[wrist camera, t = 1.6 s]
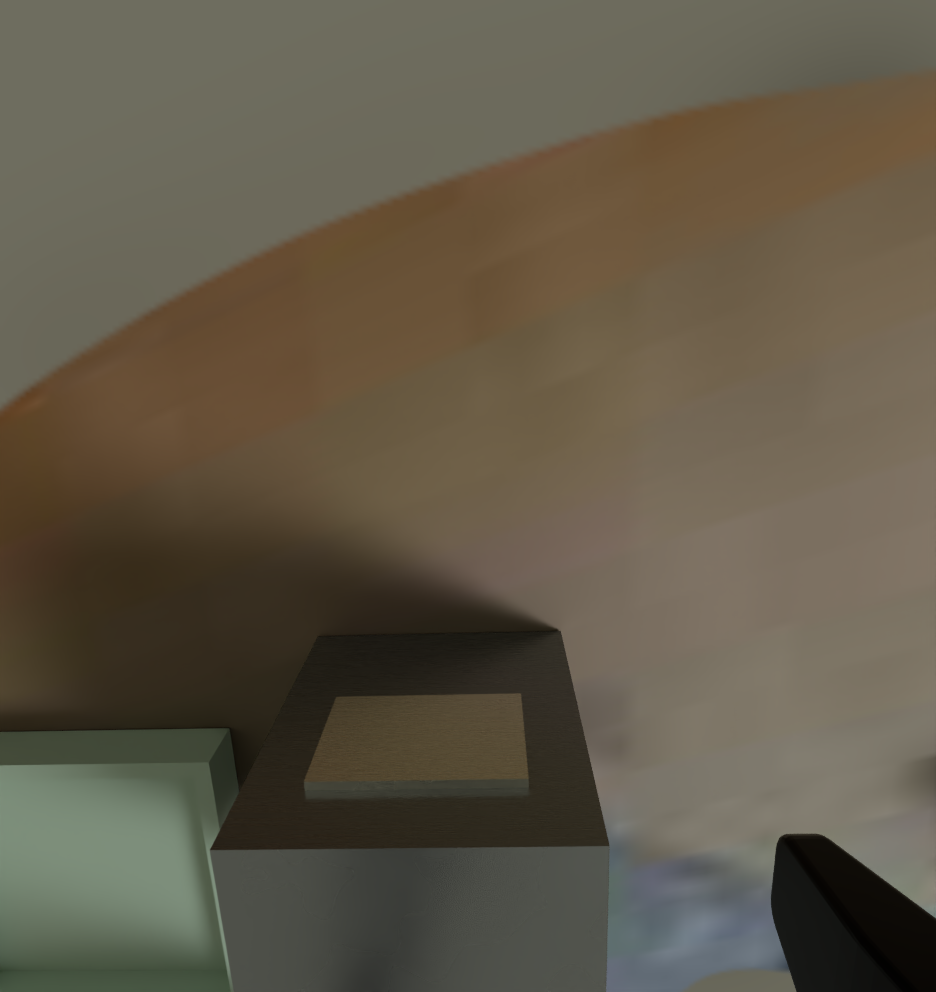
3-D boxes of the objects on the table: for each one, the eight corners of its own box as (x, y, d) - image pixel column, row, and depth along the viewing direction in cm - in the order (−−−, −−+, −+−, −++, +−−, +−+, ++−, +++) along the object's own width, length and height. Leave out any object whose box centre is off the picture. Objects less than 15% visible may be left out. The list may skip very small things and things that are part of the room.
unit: (560, 849, 21) (602, 1154, 14) (341, 851, 22) (261, 1152, 14) (560, 625, 19) (610, 836, 12) (317, 630, 20) (208, 840, 12)
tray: (264, 958, 23) (248, 1005, 21) (5, 960, 23) (-29, 1006, 22) (229, 728, 21) (208, 762, 19) (-59, 732, 21) (-103, 766, 19)
